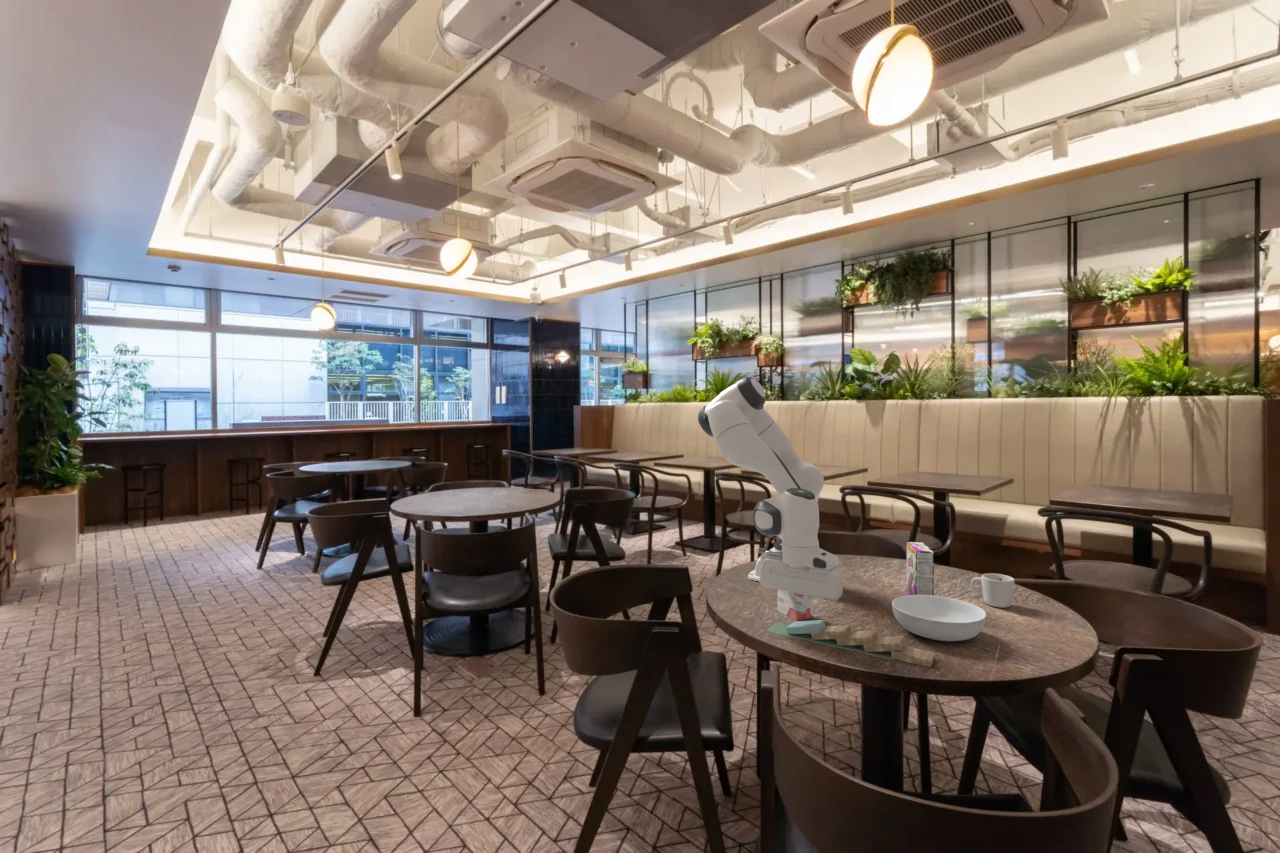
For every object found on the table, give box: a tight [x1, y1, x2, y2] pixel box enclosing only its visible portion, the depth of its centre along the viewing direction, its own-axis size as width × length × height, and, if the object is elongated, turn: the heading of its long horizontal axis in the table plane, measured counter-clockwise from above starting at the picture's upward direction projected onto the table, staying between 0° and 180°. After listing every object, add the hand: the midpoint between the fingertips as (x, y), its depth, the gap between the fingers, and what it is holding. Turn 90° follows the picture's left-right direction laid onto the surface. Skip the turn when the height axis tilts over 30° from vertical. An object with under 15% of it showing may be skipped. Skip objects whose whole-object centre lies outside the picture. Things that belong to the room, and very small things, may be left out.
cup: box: [970, 572, 1016, 609], centre depth 168 cm, size 11×8×8 cm
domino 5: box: [891, 644, 936, 668], centre depth 132 cm, size 2×5×8 cm
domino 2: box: [811, 624, 852, 640], centre depth 143 cm, size 2×5×8 cm
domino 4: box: [863, 635, 907, 652], centre depth 136 cm, size 2×5×8 cm
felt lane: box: [765, 622, 895, 661], centre depth 143 cm, size 30×7×1 cm, turn 55°
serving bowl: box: [891, 594, 987, 642], centre depth 147 cm, size 21×21×7 cm
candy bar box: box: [905, 541, 935, 596], centre depth 169 cm, size 11×5×16 cm, turn 168°
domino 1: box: [786, 619, 826, 634], centre depth 146 cm, size 2×5×8 cm
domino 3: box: [836, 630, 878, 646], centre depth 139 cm, size 2×5×8 cm
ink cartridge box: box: [777, 590, 812, 621], centre depth 160 cm, size 9×5×15 cm, turn 23°
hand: (799, 610), depth 147 cm, fingers closed
